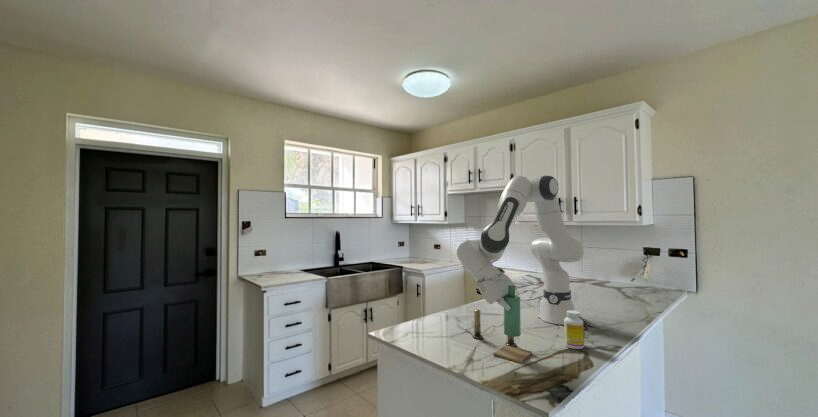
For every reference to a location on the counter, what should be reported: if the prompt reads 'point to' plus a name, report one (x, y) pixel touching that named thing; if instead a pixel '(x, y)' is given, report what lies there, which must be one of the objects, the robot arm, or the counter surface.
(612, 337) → the counter surface
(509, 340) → the post
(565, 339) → the supplement bottle
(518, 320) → the bottle
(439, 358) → the counter surface
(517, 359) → the plate
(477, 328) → the post
